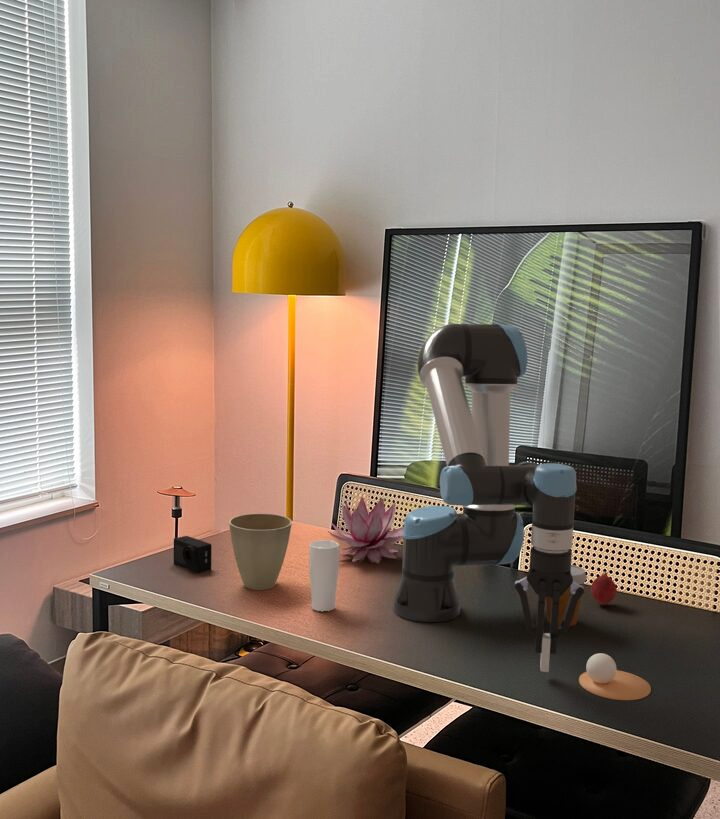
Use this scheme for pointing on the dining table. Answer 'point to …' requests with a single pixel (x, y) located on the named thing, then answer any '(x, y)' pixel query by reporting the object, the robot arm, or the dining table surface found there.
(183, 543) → the digital camera
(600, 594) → the red bumpy oval piece
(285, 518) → the plant pot
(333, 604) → the drinking glass
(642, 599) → the dining table surface
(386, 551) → the decorative flower
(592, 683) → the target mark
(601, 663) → the ball
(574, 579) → the disposable coffee cup
